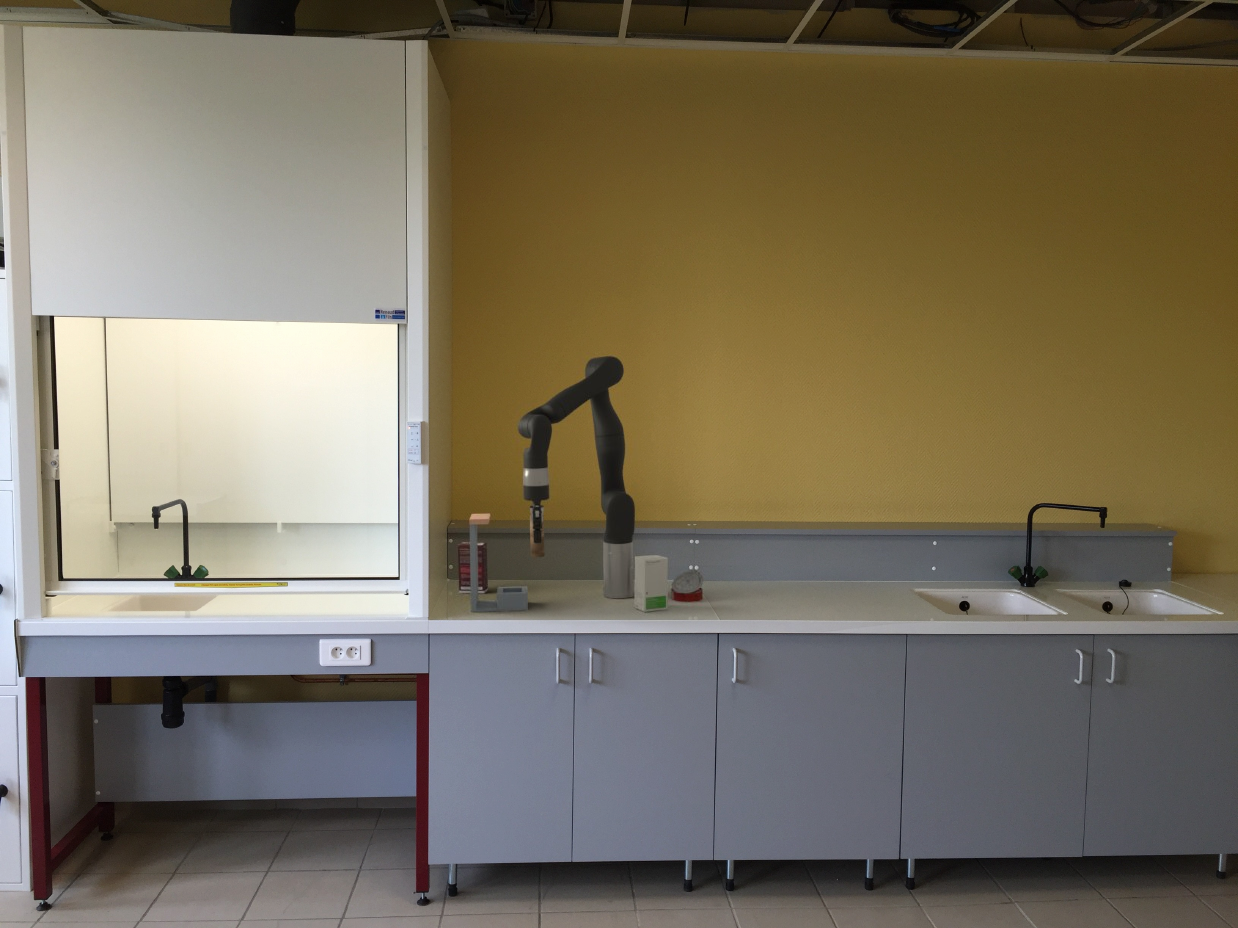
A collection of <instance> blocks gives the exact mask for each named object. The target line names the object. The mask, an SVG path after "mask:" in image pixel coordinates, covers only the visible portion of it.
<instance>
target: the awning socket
mask: <svg viewBox="0 0 1238 928" xmlns="http://www.w3.org/2000/svg"><path fill="white" fill-rule="evenodd" d="M490 521H491V513H471V515H470V517H469V522H468V523H469V543H470V577H471V593H470V612H471V613H481V612H483V613H484V612H485V613H486V612H498V611H499V612H501V611H502V612H503V611H528V610H529V609H528V607H529V605H528V604H529V603H528V602H529V600H528V598H529V596H528V595H529V594H528V592H529V591H528V590H529V589H528V586H527V585H525V586H497V590H496V600H495V599H494V600H491V599H489V600H485V599H484V600H479V593H478V551H477V543H478V525H489V524H490Z"/></svg>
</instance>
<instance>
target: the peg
mask: <svg viewBox="0 0 1238 928" xmlns="http://www.w3.org/2000/svg"><path fill="white" fill-rule="evenodd" d="M544 516H545V515H544V514H543V522H542V530H541V539H542V542H541V543H534V531H533V523H532V522H531V514H530V515H529V533H530V535H529V536H530V537H529V538H530V542H529V543H530V557H532V558H542V557H545V524H544V523H545V517H544ZM535 525H540V522H535Z"/></svg>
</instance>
